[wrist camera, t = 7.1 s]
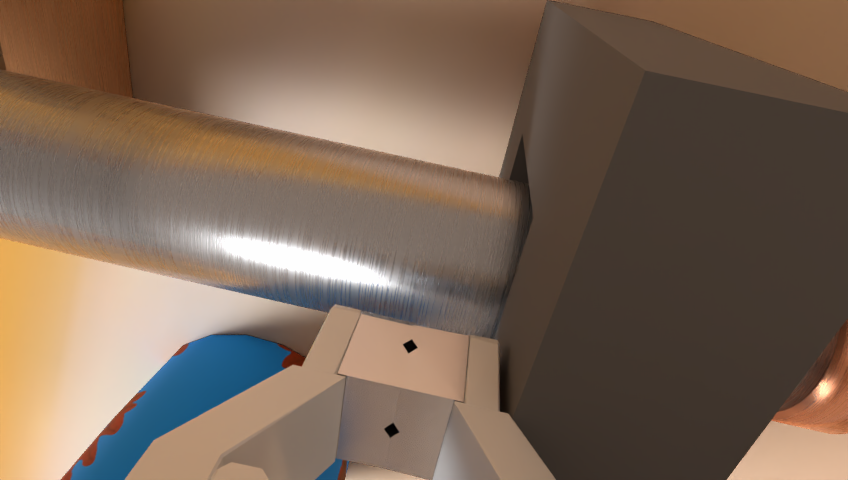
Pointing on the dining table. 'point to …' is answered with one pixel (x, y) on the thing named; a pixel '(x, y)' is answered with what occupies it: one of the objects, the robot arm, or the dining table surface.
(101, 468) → the thermos
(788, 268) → the collar
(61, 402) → the dining table surface
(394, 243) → the pipe rig
